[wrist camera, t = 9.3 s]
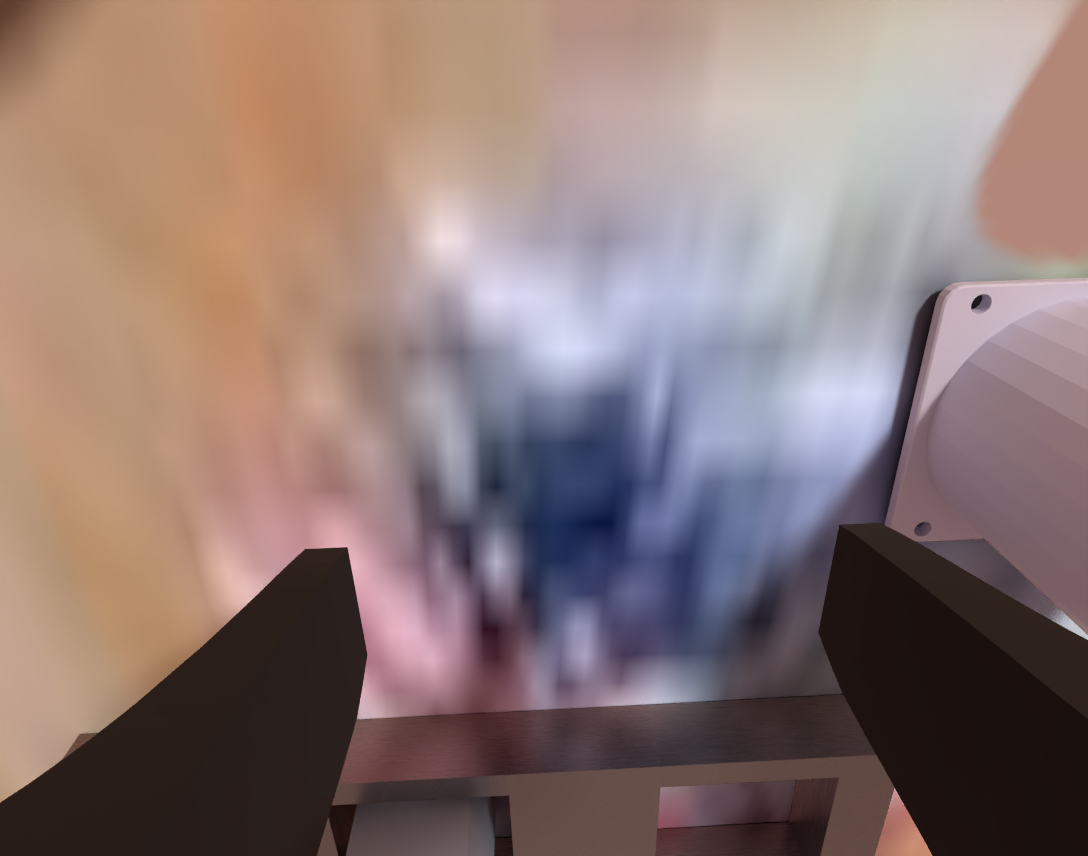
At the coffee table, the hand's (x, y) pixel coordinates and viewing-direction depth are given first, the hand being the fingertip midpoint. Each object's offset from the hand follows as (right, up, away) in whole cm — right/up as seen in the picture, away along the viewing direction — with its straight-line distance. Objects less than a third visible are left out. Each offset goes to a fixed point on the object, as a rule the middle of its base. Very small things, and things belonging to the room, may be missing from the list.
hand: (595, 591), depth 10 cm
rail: (-3, -11, +16) cm, 20 cm away
